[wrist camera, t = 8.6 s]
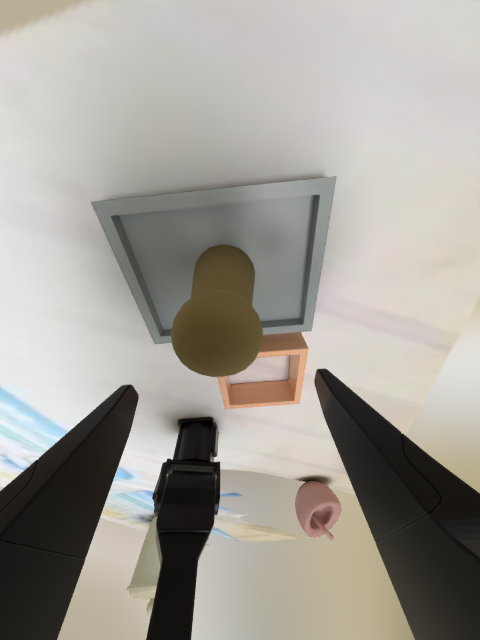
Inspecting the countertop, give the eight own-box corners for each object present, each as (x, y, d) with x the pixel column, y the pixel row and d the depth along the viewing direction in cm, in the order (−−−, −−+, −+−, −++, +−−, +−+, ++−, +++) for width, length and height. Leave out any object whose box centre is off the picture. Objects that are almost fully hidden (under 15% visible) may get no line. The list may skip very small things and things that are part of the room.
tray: (160, 333, 24) (154, 344, 22) (105, 200, 16) (90, 201, 14) (305, 320, 23) (311, 330, 21) (325, 177, 15) (336, 176, 14)
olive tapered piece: (264, 289, 20) (290, 373, 10) (213, 311, 21) (197, 402, 12) (239, 231, 16) (245, 281, 7) (181, 262, 18) (126, 335, 9)
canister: (140, 511, 69) (108, 619, 52) (189, 508, 69) (174, 615, 52) (154, 522, 79) (131, 615, 62) (197, 520, 79) (187, 612, 62)
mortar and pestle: (340, 479, 56) (362, 538, 46) (309, 490, 61) (323, 545, 51) (312, 471, 51) (330, 534, 42) (282, 484, 57) (292, 543, 47)
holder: (226, 388, 30) (225, 409, 27) (215, 336, 24) (212, 356, 21) (293, 382, 30) (299, 403, 27) (299, 329, 24) (308, 348, 21)
